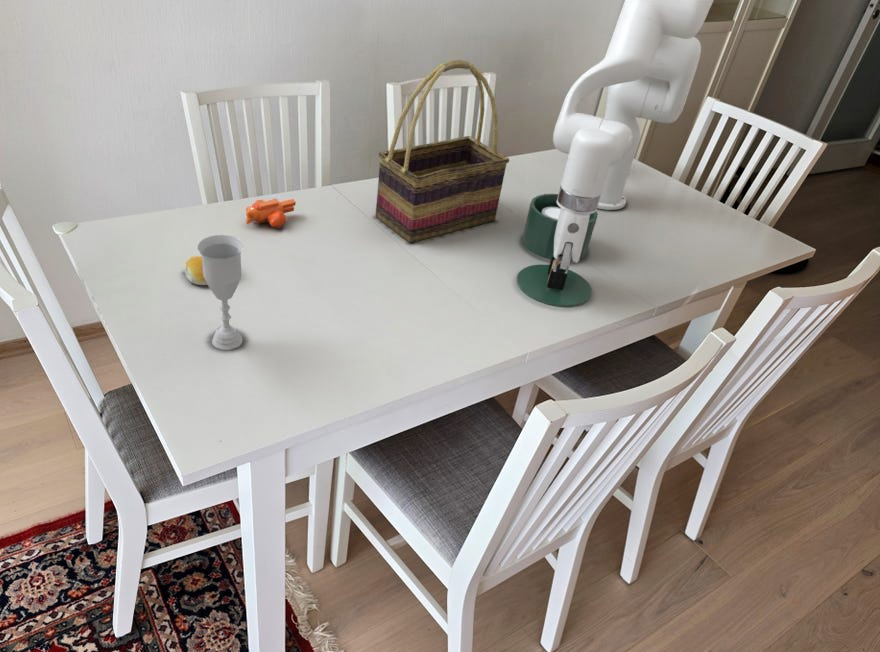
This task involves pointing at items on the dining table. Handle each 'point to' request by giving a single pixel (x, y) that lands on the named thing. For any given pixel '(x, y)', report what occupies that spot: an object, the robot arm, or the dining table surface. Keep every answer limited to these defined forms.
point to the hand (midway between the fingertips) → (555, 281)
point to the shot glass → (551, 212)
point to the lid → (535, 287)
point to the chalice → (223, 281)
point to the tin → (548, 228)
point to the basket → (440, 175)
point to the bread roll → (195, 271)
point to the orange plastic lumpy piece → (269, 212)
